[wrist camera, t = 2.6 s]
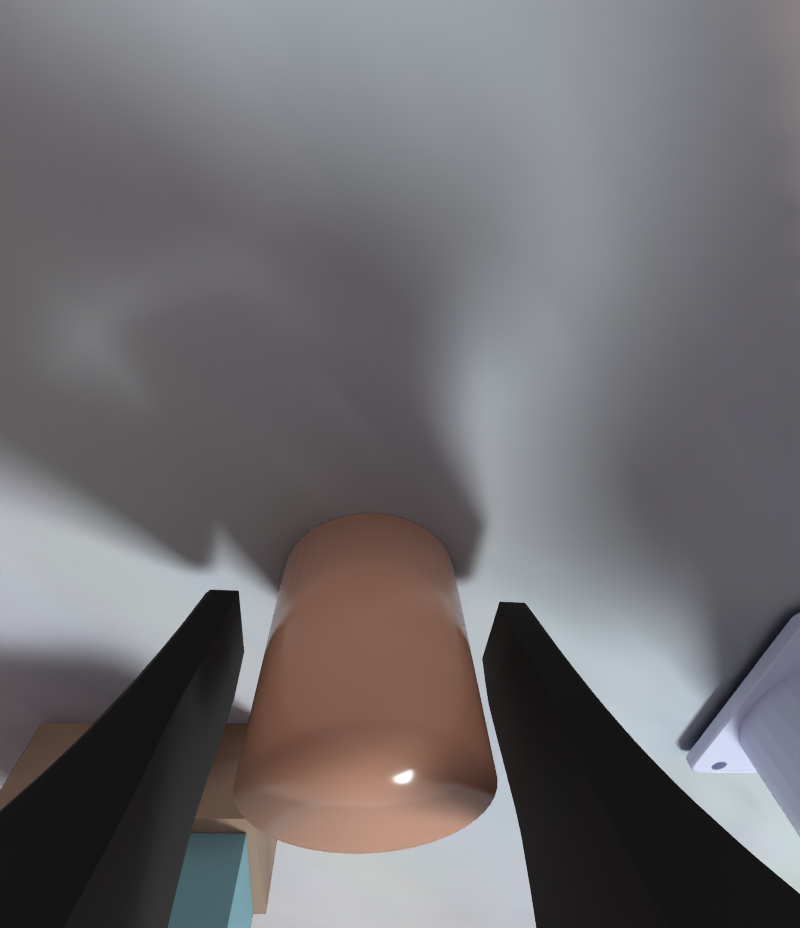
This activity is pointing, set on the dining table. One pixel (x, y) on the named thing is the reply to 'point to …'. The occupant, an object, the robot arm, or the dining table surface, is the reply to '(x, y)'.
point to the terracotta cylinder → (366, 697)
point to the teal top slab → (214, 883)
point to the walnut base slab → (213, 808)
